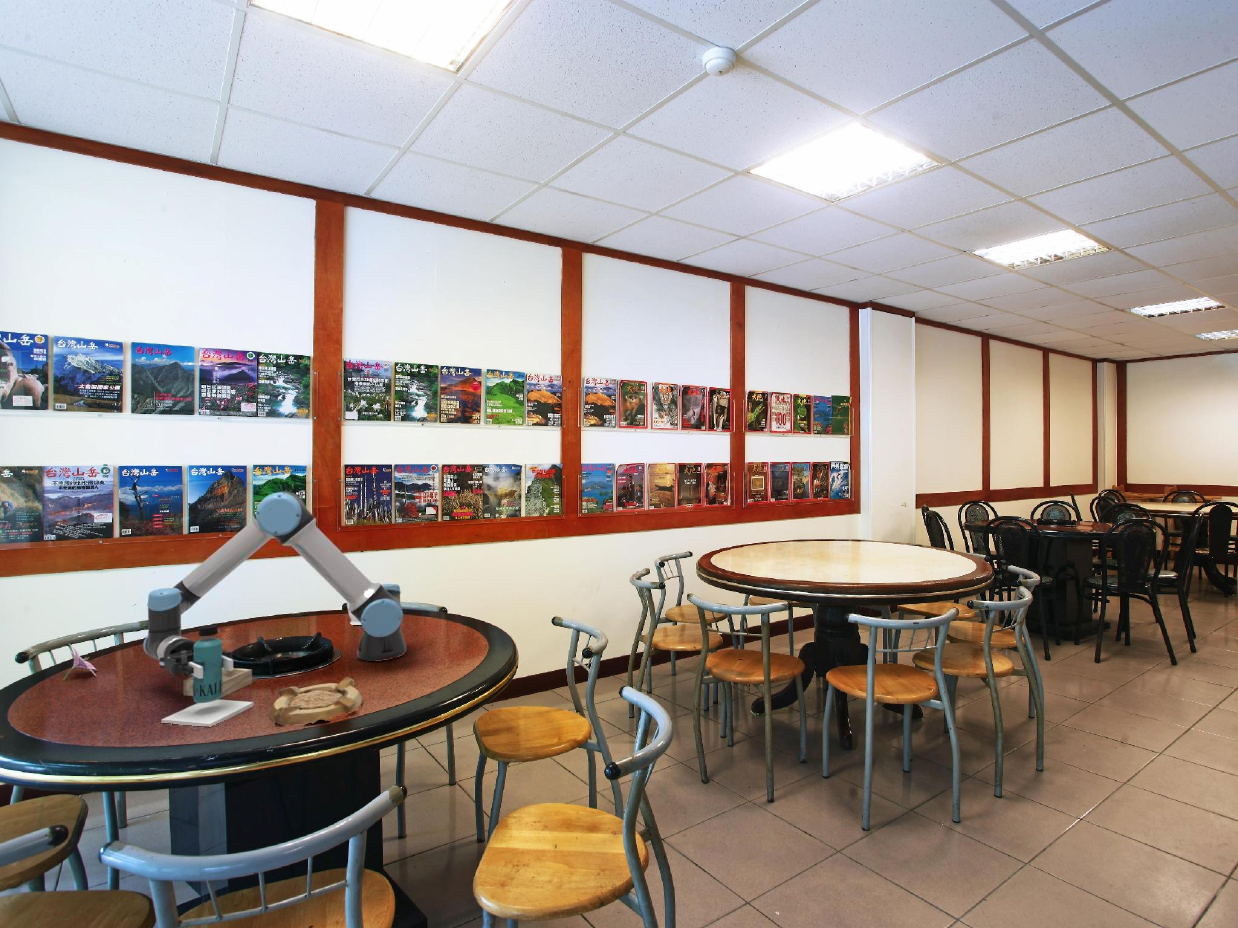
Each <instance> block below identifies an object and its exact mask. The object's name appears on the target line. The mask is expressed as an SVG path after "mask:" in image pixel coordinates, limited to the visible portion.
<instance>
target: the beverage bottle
mask: <svg viewBox="0 0 1238 928" xmlns="http://www.w3.org/2000/svg"><path fill="white" fill-rule="evenodd" d="M218 633H219V632H218V625H216V624H206V625H202V626H199V628H198V636H199V637H204V638H200V639H198V640H197V641H195V644H194V646H193V647H194V661H193V663H195V664H197V665H200V666H202V667H203V678H201V679H199V678H197V677H195V676H193V675H192V677H193V696H192V701H193V703H195V704H197V703H207V702H212V701H215V700H218V699H219V700H221V698H222V697H221V696H222V693H223V692H222V688H223V686H222V685H223V684H222V681H223V680H222V679H223V678H222V649H223V641H222V640H221V639H220V638H218V637H215V635H218ZM213 636H214V637H213Z"/></svg>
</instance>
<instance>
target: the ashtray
mask: <svg viewBox="0 0 1238 928" xmlns="http://www.w3.org/2000/svg"><path fill="white" fill-rule="evenodd" d="M354 685H355V680H354V679H352V678H350V677H347V676H345V677H344V678H343V679H342V680H341V681H340V682H339V683H336V682H335V683H333V682H332V683H331V682H329V683H321V684H319V683H318V684H316V685H315V684H314V685H310V686H305V687H301V688H298V687H297V686H289V687H286V688H282V689H280V690H278V692H277V693H278V694H279V697H278V698H277V699H276V700H275V701H274V703H273V704H272V706H271V707H270V709H269V711H268V719H269V721H270V720H271V721H272V722H275V723H277V724H276V725H279V724H280V725H279V726H281V725H286V724H287V725H288V724H289V725H294V724H306V723H307V724H308V723H312V724H315V723H316V722H317V721H319V720H324V721H326V722H327V720H329V719H332V717H336V716H340V715H341V714H345V713H348V712H350V711H352V710H354V709H355V708H356V707H358V706H359V705H360V704H361V703H362V704H363V696H362V695H361V693H360V691H359V690H358V689H357V688H355V687H354ZM271 721H270V722H271ZM272 722H271V723H272ZM308 725H309V724H308Z"/></svg>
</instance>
